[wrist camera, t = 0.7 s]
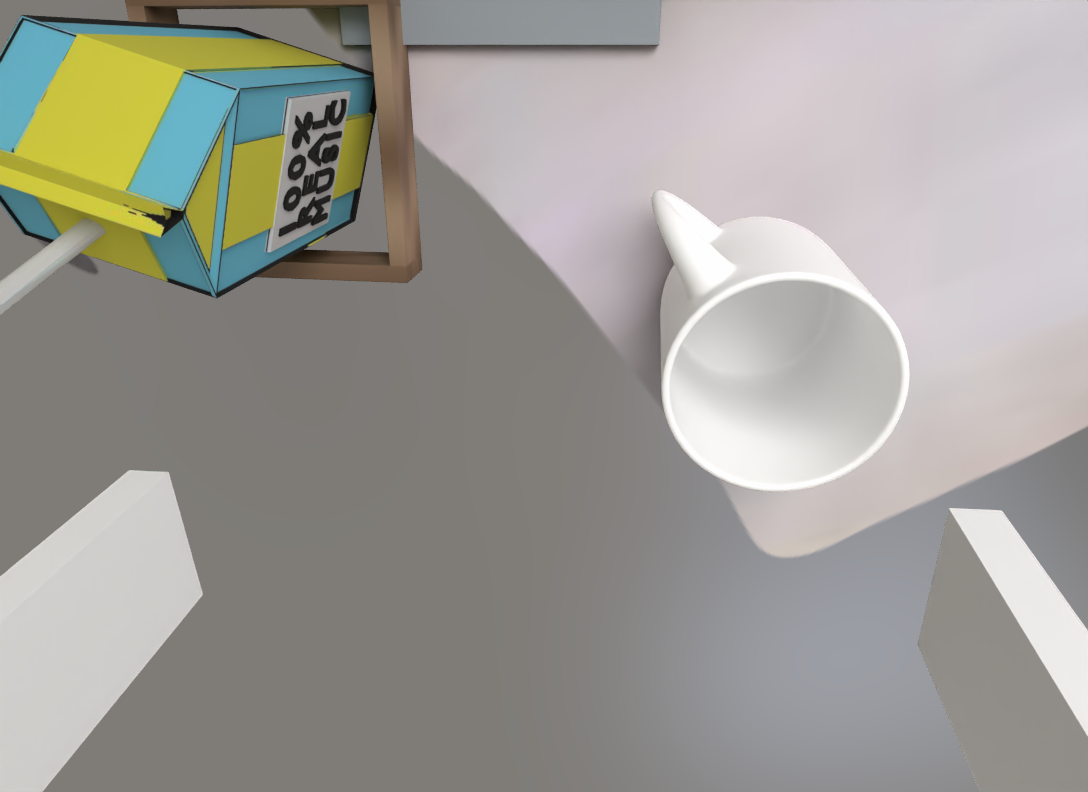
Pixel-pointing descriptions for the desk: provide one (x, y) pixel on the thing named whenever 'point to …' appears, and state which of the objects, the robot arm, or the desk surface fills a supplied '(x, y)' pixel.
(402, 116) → the frame
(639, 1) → the mat
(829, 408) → the mug
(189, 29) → the carton
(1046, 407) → the desk surface
